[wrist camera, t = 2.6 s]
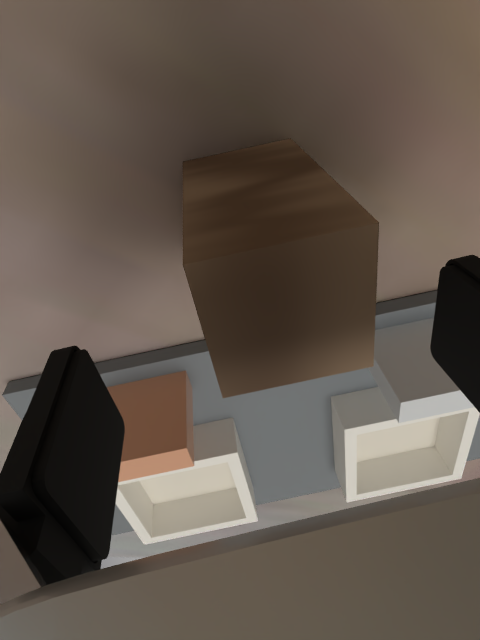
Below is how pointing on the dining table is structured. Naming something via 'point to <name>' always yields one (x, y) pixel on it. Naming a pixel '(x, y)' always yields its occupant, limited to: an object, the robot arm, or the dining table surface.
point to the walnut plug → (278, 267)
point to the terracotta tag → (155, 425)
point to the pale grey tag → (413, 373)
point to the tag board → (281, 440)
